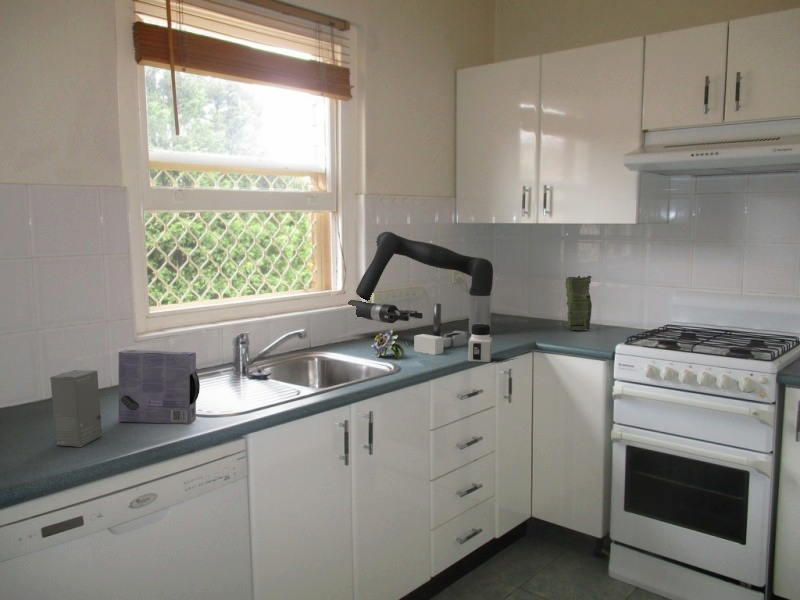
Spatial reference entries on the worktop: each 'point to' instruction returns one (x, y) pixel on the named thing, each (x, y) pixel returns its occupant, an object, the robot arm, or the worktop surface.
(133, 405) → the cake pan box
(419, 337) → the socket block
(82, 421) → the skincare box
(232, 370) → the worktop surface
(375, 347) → the passion flower
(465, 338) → the sleeve
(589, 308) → the pouch
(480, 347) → the container
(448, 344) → the tube
